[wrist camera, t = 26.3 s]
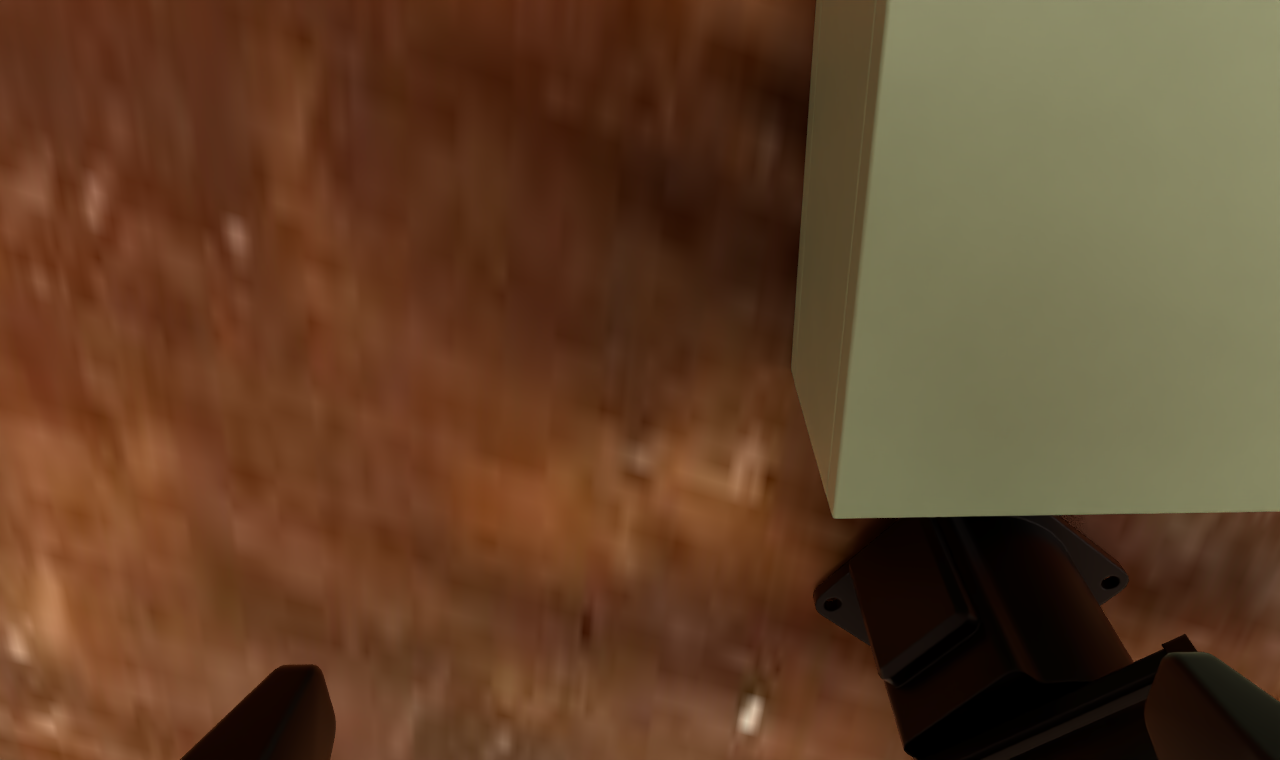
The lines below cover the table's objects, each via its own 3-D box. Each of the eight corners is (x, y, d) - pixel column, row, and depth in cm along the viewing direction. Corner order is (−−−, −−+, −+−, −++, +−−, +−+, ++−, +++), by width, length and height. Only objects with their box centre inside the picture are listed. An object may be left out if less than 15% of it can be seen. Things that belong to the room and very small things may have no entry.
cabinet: (835, -289, 16) (924, -356, 11) (1461, -309, 16) (1854, -387, 11) (790, 370, 23) (832, 520, 18) (1227, 361, 22) (1399, 511, 17)
